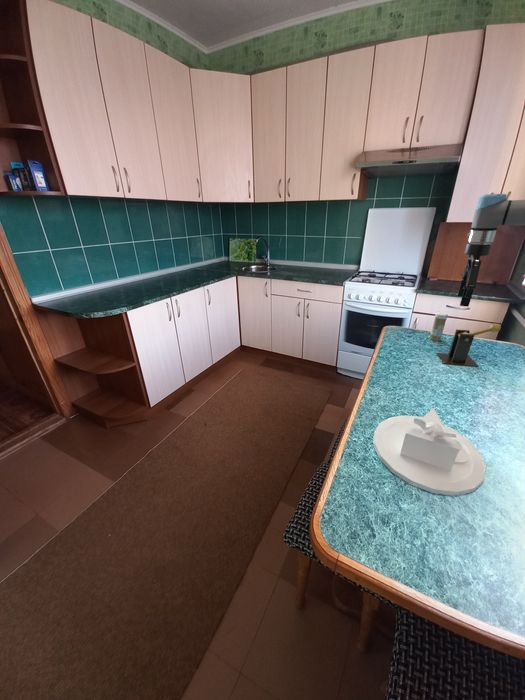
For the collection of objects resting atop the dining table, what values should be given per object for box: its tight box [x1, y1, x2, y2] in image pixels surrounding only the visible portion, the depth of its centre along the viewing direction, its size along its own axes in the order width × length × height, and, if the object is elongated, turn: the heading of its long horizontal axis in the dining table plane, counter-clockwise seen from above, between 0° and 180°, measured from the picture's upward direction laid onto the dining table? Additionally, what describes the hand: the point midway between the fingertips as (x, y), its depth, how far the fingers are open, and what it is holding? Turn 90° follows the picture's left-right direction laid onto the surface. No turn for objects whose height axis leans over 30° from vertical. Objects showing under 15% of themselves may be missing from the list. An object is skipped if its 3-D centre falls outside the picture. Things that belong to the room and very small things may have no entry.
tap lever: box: [458, 323, 501, 337], centre depth 107 cm, size 13×3×3 cm, turn 77°
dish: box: [372, 407, 487, 497], centre depth 71 cm, size 25×25×11 cm
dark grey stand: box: [435, 329, 479, 368], centre depth 111 cm, size 12×9×13 cm
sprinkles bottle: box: [429, 311, 449, 342], centre depth 128 cm, size 5×5×14 cm
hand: (462, 301), depth 112 cm, fingers open, 13 cm apart
